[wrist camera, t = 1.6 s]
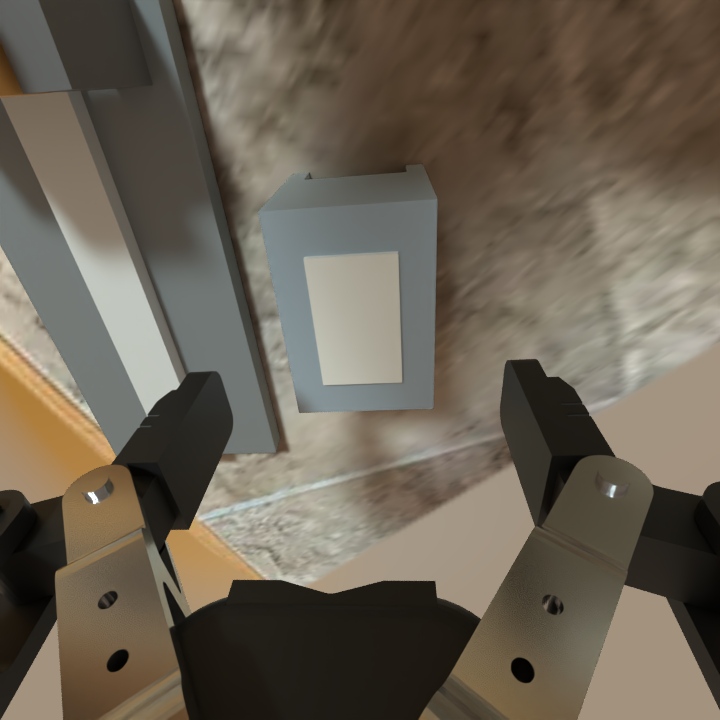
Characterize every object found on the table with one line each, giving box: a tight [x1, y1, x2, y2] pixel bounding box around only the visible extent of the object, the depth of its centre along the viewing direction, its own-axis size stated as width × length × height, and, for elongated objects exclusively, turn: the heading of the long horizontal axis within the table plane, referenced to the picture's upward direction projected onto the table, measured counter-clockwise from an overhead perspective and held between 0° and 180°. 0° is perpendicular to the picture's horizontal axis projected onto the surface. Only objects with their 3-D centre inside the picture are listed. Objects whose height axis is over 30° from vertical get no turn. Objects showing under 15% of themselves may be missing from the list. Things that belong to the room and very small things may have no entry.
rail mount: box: [0, 0, 280, 456], centre depth 18 cm, size 22×10×6 cm, turn 5°
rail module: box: [258, 164, 438, 413], centre depth 17 cm, size 8×5×6 cm
